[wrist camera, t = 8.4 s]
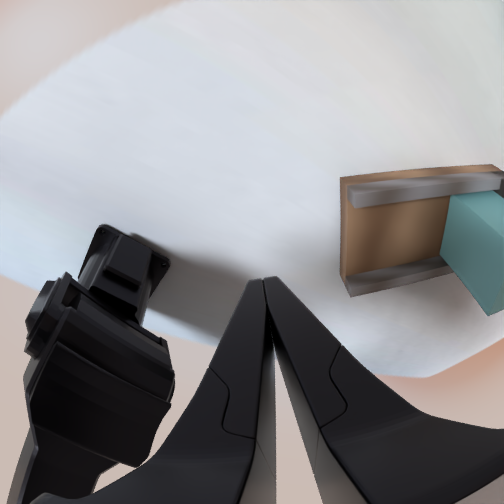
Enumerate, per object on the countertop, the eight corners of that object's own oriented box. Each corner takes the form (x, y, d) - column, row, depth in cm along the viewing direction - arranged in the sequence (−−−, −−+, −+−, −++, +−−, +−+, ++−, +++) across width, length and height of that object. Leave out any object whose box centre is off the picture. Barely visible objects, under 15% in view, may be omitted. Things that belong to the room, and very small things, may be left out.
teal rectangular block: (439, 254, 24) (487, 316, 17) (451, 193, 20) (515, 249, 14) (476, 245, 23) (524, 299, 17) (490, 188, 20) (550, 238, 14)
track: (339, 274, 26) (368, 339, 20) (339, 177, 21) (385, 231, 15) (475, 244, 26) (516, 290, 20) (492, 164, 21) (547, 202, 14)
